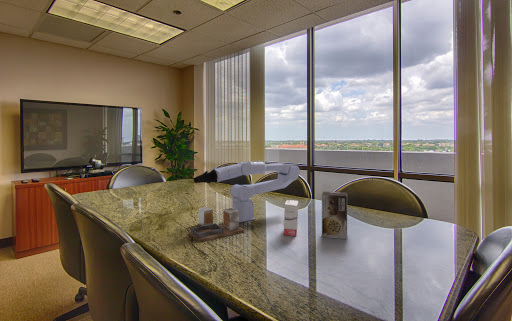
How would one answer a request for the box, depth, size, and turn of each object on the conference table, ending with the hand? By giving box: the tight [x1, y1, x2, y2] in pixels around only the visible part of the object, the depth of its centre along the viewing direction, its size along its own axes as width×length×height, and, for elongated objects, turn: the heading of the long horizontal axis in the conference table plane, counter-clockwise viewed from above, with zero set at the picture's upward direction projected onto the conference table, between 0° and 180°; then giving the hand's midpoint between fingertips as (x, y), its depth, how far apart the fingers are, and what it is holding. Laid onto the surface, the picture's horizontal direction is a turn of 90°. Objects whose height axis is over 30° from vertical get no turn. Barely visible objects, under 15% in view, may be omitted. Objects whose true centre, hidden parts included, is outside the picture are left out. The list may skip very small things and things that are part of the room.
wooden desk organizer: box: [188, 207, 245, 243], centre depth 105 cm, size 19×11×8 cm, turn 123°
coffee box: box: [321, 191, 348, 240], centre depth 101 cm, size 9×6×16 cm
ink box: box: [283, 199, 299, 237], centre depth 105 cm, size 9×5×12 cm, turn 168°
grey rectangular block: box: [198, 206, 214, 226], centre depth 116 cm, size 4×6×7 cm, turn 33°
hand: (196, 180), depth 112 cm, fingers open, 7 cm apart
